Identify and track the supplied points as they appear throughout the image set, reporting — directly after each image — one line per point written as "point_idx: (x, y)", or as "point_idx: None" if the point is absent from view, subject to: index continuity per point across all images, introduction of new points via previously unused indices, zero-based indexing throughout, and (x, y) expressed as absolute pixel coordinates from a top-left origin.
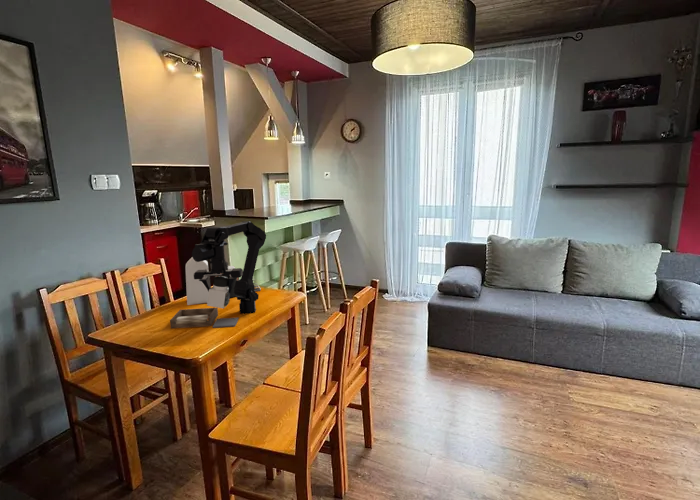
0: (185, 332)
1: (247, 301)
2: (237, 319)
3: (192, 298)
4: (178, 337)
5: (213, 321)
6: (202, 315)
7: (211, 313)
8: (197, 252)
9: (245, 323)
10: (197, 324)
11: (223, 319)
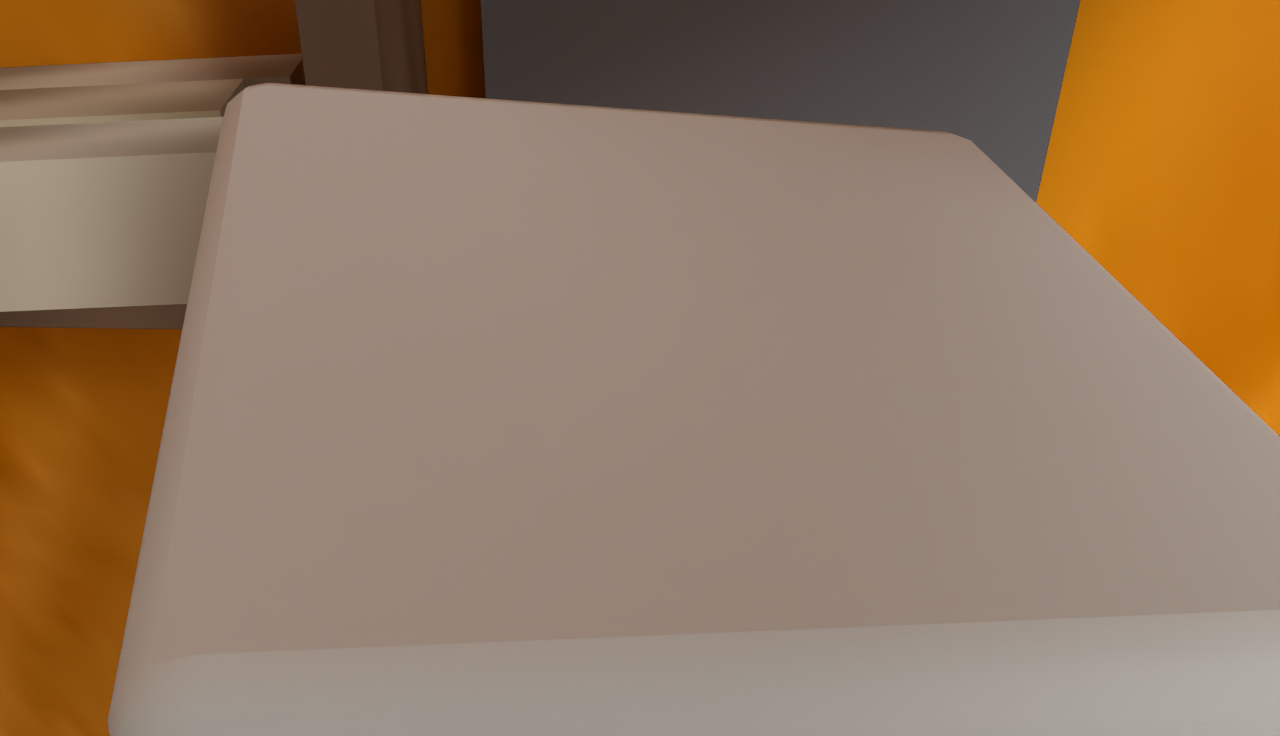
0: (27, 516)
1: None
2: (1059, 77)
3: None
4: (25, 680)
5: (421, 68)
6: (96, 202)
7: (308, 45)
8: None
9: (1218, 272)
10: (115, 313)
11: (676, 4)
